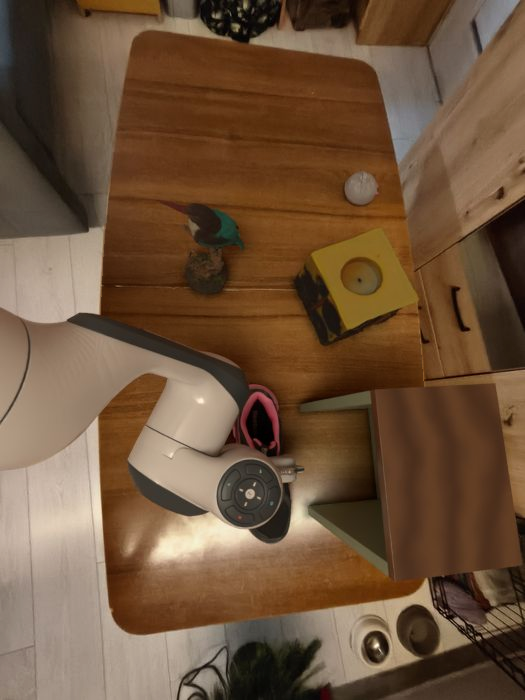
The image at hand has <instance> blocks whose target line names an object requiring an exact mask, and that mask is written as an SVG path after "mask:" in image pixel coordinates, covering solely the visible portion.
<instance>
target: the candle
mask: <svg viewBox="0 0 525 700" xmlns="http://www.w3.org/2000/svg"><path fill="white" fill-rule="evenodd" d="M293 284H294V288H295V290H296V293H297V294H298V295H297V296H298V298H299V300H300V301H301V302H302V305H303V308H304V310H305V311H306V314H307V317H308V318H309V319H308V320H309V321H310V322H311V324H312V326H313V328H314V331H315V334H316V335H317V337H318V340H319V344H320V345H322V346H323V347H327V346H330V345H332V344H334V343H337V342H340V341H343V340H346V339H349V338H350V337H352V336H356V335H358V334H360V333H363V332H364V330H365V329H367V328H369V327H371V326H379V325H380V324H383V323H386V322H387V321H388V320H389V319H392V318H393V317H395V316H397V313H398V312H400V310H401V309H403V308H405V307H407V306H411V305H413V304H415V303H418V302H419V301H420V298H419V295H418V293H417V292H416V290H415V288H414V286H413V285H412V282H411V280H410V279H409V277H408V275H407V273H406V271H405V269H404V267H403V266H402V264H401V262H400V260H399V258H398V256H397V254H396V252H395V250H394V248H393V246H392V244H391V242H390V239H389V238H388V236H387V233H386V231H385V230H384V228H383V226H380V227H376V228H374V229H371V230H368V231H365V232H363V233H360V234H358V235H356V236H353V237H350V238H349V239H346V240H343V241H340V242H337V243H336V242H335V243H333V244H330V245H328V246H325V247H322V248H319V249H317V250H314V251H313V252H311V253H310V254H309V256H308V257H307V259H306V260H305V261H304V264H303V267H302V269H301V271H300V272H299V273H297V274H296V276H295V278H294V279H293Z"/></svg>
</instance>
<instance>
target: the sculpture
mask: <svg viewBox="0 0 525 700" xmlns="http://www.w3.org/2000/svg"><path fill="white" fill-rule="evenodd" d="M156 201H157V202H159V203H161V204H162V205H164V206H167V207H169V208H171V209H173V210H175V211H177V212H179V213H180V214H182V215H185V216H187V217H188V218H187V221H188V226H187V224H185V223H184V224H183V223H180V224H179V226H180V227H181V229H182V231H184V232H185V233H187V234H188V235H190V236H191V237H192V238H193V240H194V242H195V243H196V244H197V245H199V246H200V247H205V248H206V250H207V252H200V253H197V252H196V251H195V250H196V248H197V246H195V247H192V248H191V250H187V251H186V252H187V255H188V256H187V260H186V262H187V263H186V264H185V268H184V269H185V270H184V276H185V279H186V281H187V283H188V285H189V288H190V289H192V290H194V291H195V292H197V293H199V294H205V295H215V294H219V293H220V292H221V291H222V290H223V288H224V285H225V284H226V281H227V277H228V271H227V266H226V263H225V262H224V260H223V258H222V256H223V253H224V250H223V247H227V246H228V247H229V246H237V247H239V248H240V249H241V251H245V248H246V247H245V242H244V241H243V239H242V238H241V236H240V232H239V230H240V229H239V226H238V223H237V222H236V220H235V219H233V217H231V216H230V215H229V214H227V213H225V212H224V211H222V210H219V209H218V208H211V207H209V206H208V205H207V204H203V203H198V202H197V203H196V202H191V203H189V204H181V203H177V202H171V201H166V200H161V199H156ZM192 254H195V255H193V256H191V255H192Z"/></svg>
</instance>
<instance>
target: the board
mask: <svg viewBox="0 0 525 700" xmlns="http://www.w3.org/2000/svg"><path fill="white" fill-rule="evenodd" d="M369 391H370V397H371V407H372V417H373V427H374V437H375V446H376V456H377V466H378V476H379V486H380V496H381V506H382V516H383V526H384V535H385V545H386V555H387V565H388V575H389V577H388V578H389V579H391V580H392V582H394V583H398V582H404V581H412V580H420V579H427V578H428V579H429V578H434V577H435V578H437V577H444V576H450V575H458V574H466V573H474V572H475V573H476V572H483V571H490V570H496V569H497V570H498V569H505V568H506V569H507V568H513V567H520V566H524V564H523V558H522V552H521V546H520V539H519V538H520V537H519V531H518V526H517V518H516V511H515V504H514V497H513V491H512V485H511V479H510V471H509V465H508V458H507V451H506V445H505V438H504V437H505V436H504V431H503V426H502V425H503V424H502V418H501V411H500V405H499V399H498V398H499V397H498V392H497V391H498V390H497V385H496V383H473V384H456V385H455V384H453V385H437V386H435V385H434V386H416V387H415V386H414V387H397V388H396V387H395V388H393V387H392V388H375V389H370V390H369Z"/></svg>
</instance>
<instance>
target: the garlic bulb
mask: <svg viewBox="0 0 525 700" xmlns="http://www.w3.org/2000/svg"><path fill="white" fill-rule="evenodd" d="M343 187H344V188H343V189H344V195H345V198H346V199H347V201H348V202H349V203H350V204H353V205H355V206H364V205H367V204H370V203H371V202H372V201H373V200H374V198H375V197H376V196H377V195H379V191H378V188H379V185H378V182H377V181H376V178H375V177H374V176H373V175H372V174H371V173H370V172H367V171H365V170H361V171H358V172H355V173H353V174H352V175H350V176H349V177H348V178H347V179H346V181H345V183H344V186H343Z"/></svg>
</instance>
